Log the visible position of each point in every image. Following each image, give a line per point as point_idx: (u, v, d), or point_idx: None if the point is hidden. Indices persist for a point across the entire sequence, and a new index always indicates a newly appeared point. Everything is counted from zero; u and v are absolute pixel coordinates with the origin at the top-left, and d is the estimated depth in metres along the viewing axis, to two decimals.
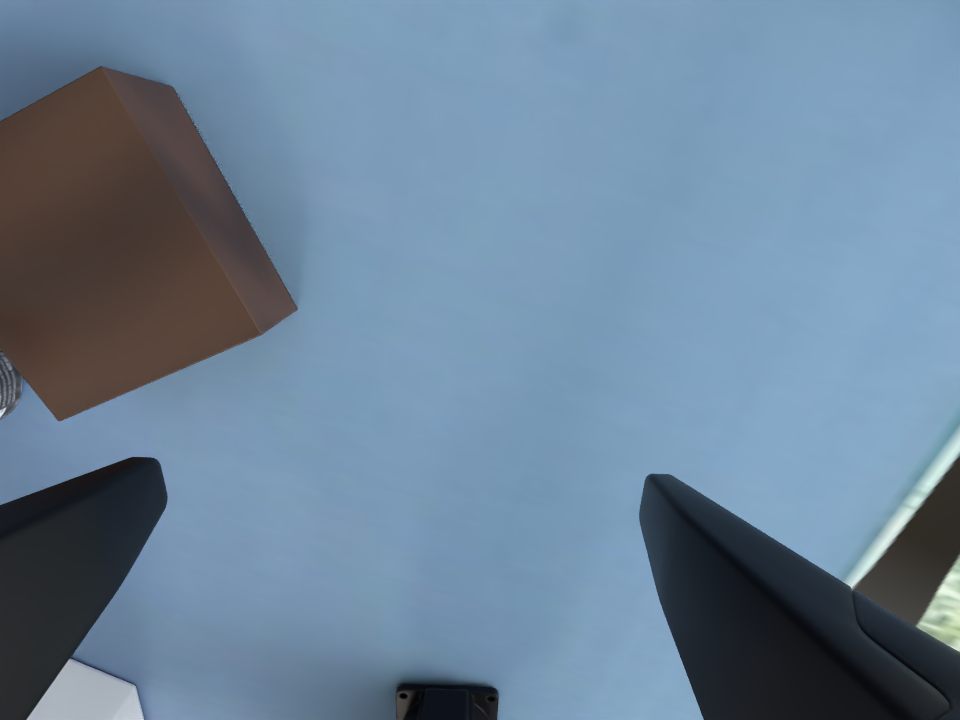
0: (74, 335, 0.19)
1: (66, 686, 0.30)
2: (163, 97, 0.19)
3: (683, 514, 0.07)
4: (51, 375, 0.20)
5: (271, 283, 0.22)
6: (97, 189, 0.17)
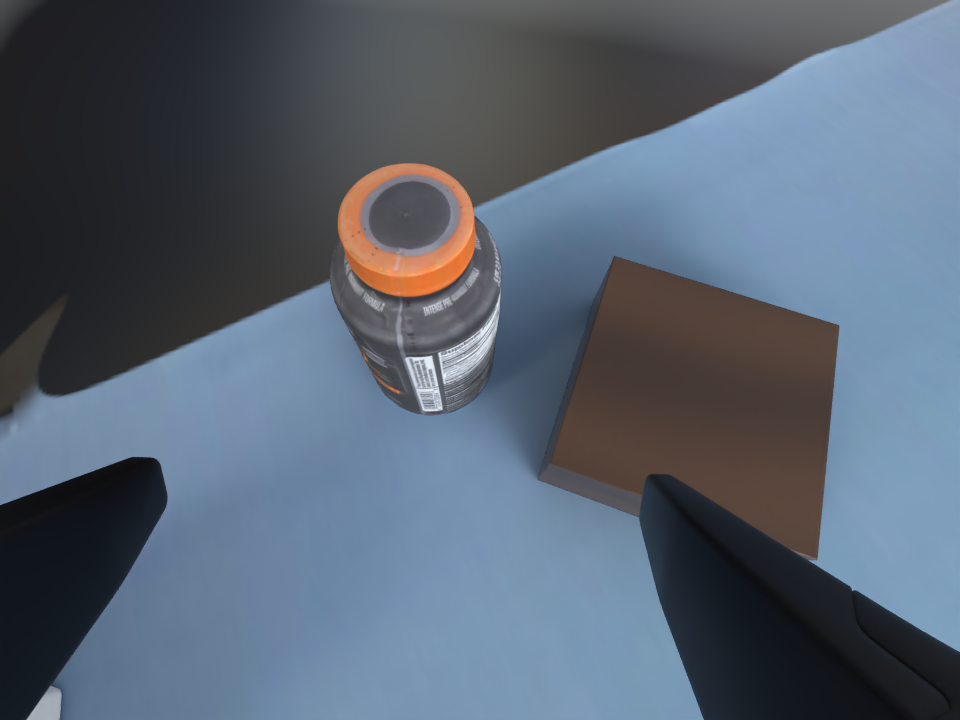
0: (647, 423, 0.19)
1: None
2: None
3: (683, 514, 0.07)
4: (591, 429, 0.19)
5: None
6: (771, 368, 0.20)
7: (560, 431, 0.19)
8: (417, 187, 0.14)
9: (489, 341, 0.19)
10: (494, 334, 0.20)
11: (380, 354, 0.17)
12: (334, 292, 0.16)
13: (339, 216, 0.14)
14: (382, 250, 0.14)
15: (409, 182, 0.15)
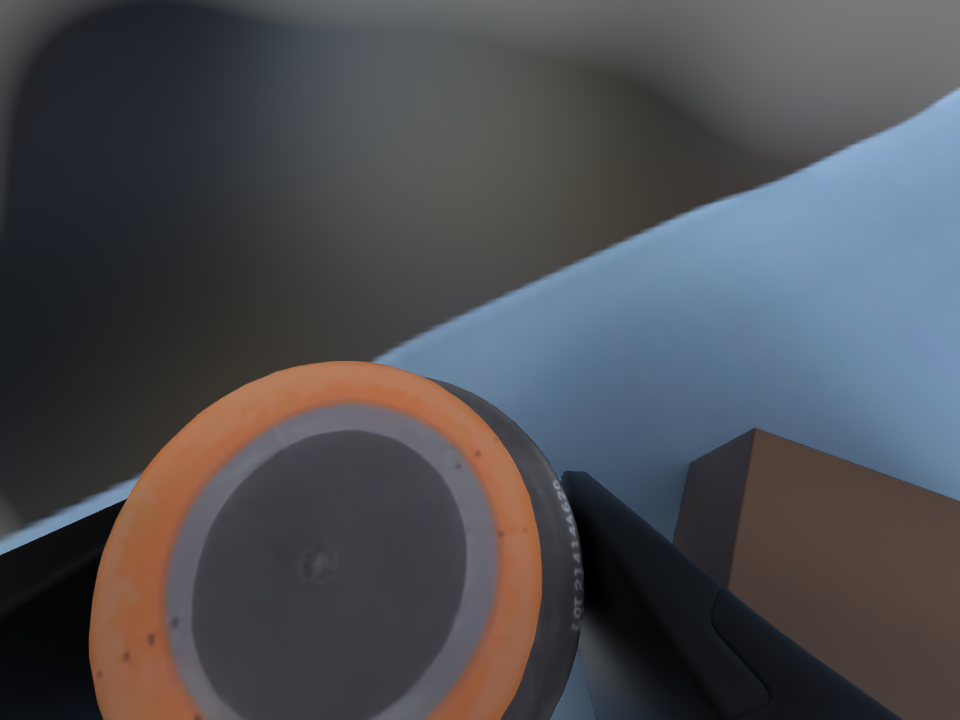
0: None
1: None
2: None
3: (581, 511, 0.07)
4: None
5: None
6: None
7: None
8: (363, 459, 0.05)
9: None
10: None
11: None
12: None
13: (102, 563, 0.04)
14: None
15: (340, 438, 0.05)
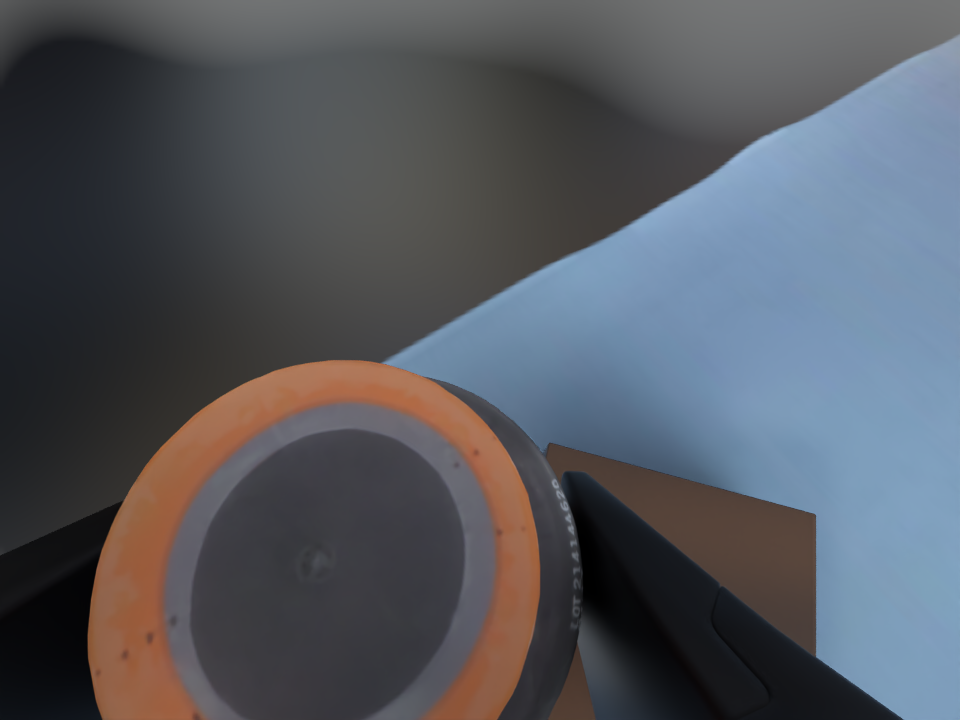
0: None
1: None
2: None
3: (581, 511, 0.07)
4: None
5: None
6: (741, 583, 0.17)
7: None
8: (361, 456, 0.05)
9: None
10: None
11: None
12: None
13: (100, 561, 0.04)
14: None
15: (339, 437, 0.05)
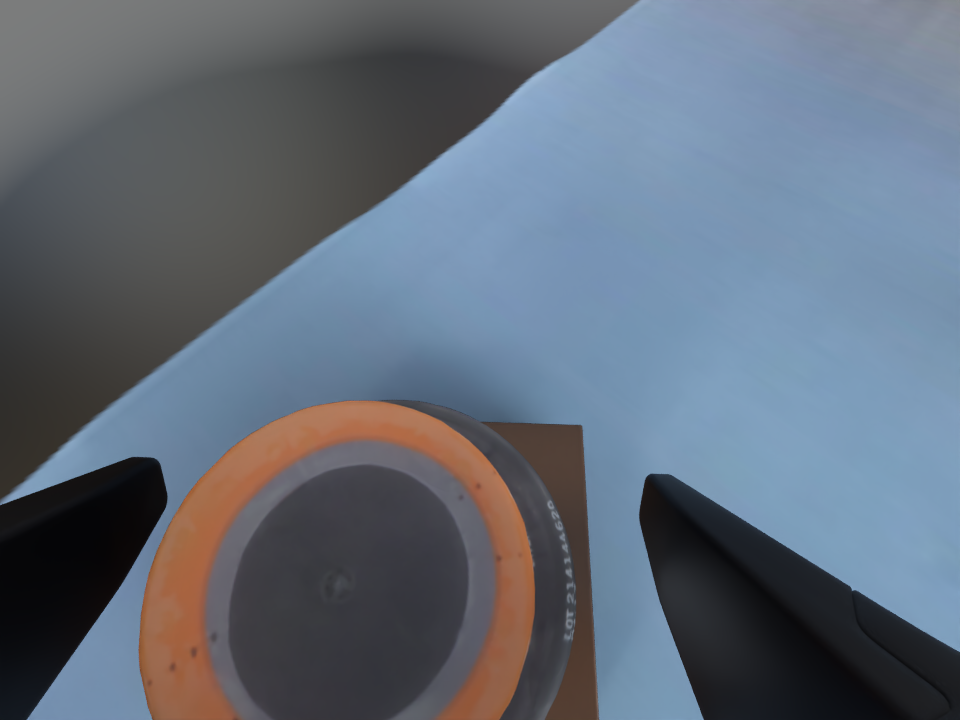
0: None
1: None
2: None
3: (683, 514, 0.07)
4: None
5: None
6: None
7: None
8: (377, 491, 0.05)
9: None
10: None
11: None
12: None
13: (148, 584, 0.05)
14: None
15: (356, 472, 0.05)
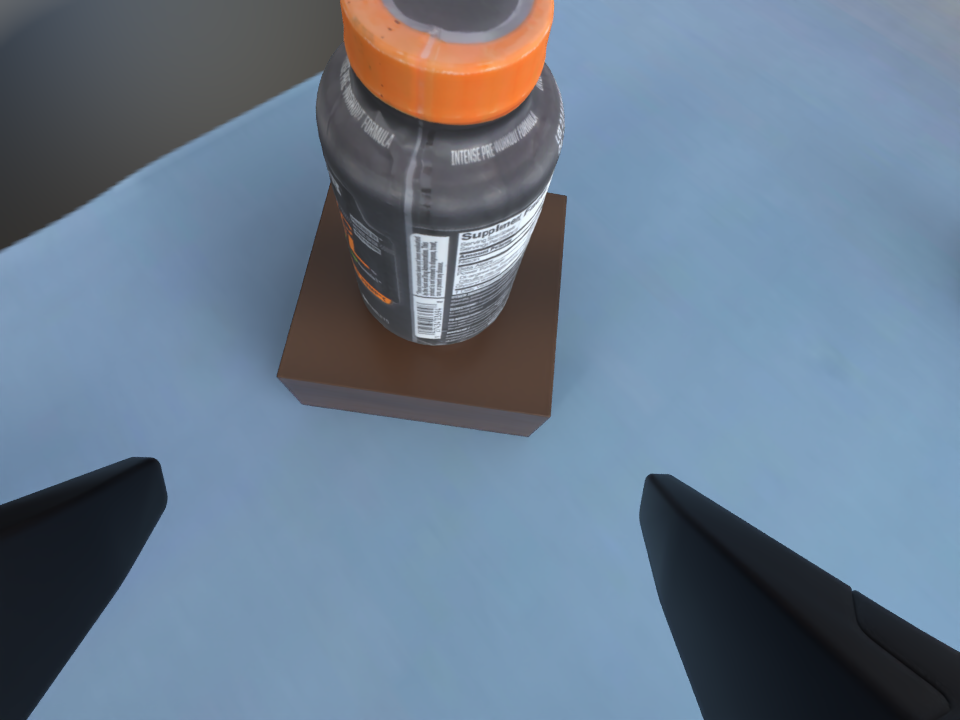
0: None
1: None
2: None
3: (683, 514, 0.07)
4: (320, 335, 0.18)
5: None
6: None
7: (286, 343, 0.18)
8: None
9: (522, 245, 0.14)
10: (528, 240, 0.15)
11: (374, 225, 0.12)
12: (320, 117, 0.11)
13: None
14: (406, 26, 0.09)
15: None
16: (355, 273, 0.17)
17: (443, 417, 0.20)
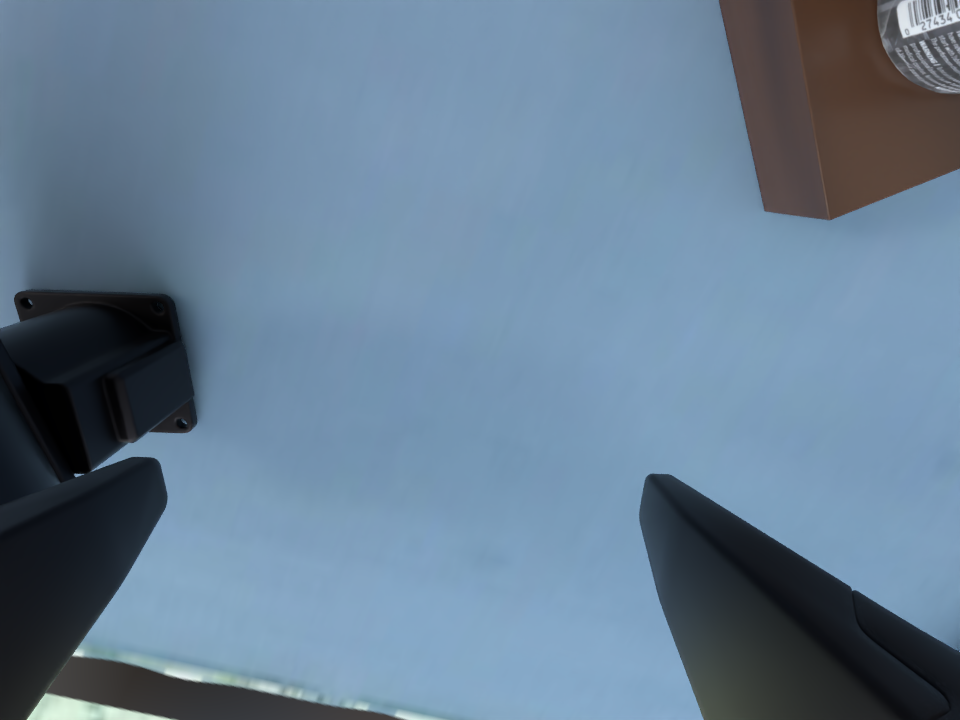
0: None
1: None
2: None
3: (683, 514, 0.07)
4: None
5: None
6: None
7: None
8: None
9: None
10: None
11: None
12: None
13: None
14: None
15: None
16: None
17: (763, 108, 0.17)
